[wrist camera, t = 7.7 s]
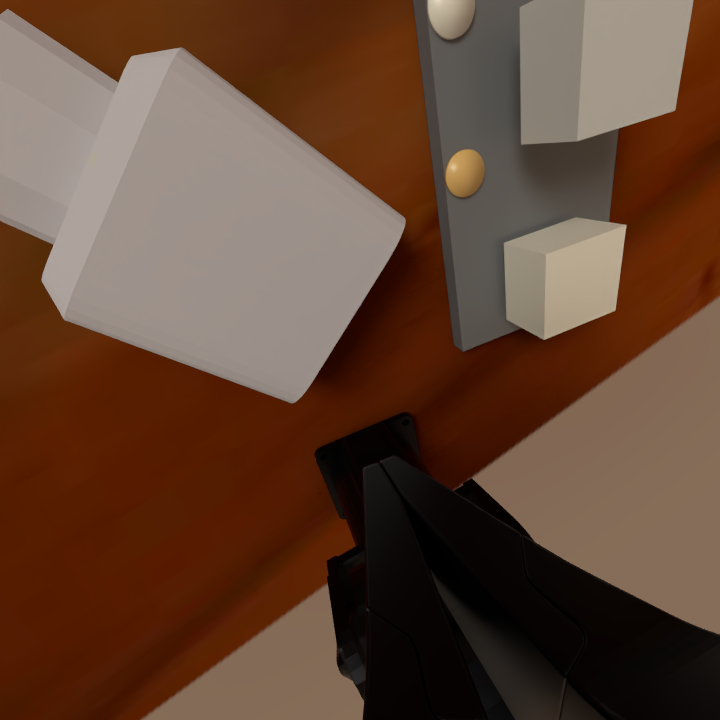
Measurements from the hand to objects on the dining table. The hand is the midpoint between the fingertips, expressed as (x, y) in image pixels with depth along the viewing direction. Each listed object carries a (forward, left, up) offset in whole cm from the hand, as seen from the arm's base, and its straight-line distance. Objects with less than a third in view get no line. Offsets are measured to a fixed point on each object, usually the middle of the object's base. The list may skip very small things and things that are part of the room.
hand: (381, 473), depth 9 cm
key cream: (-2, -14, -11) cm, 17 cm away
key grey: (+7, -14, -9) cm, 18 cm away
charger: (+6, +3, -13) cm, 14 cm away
